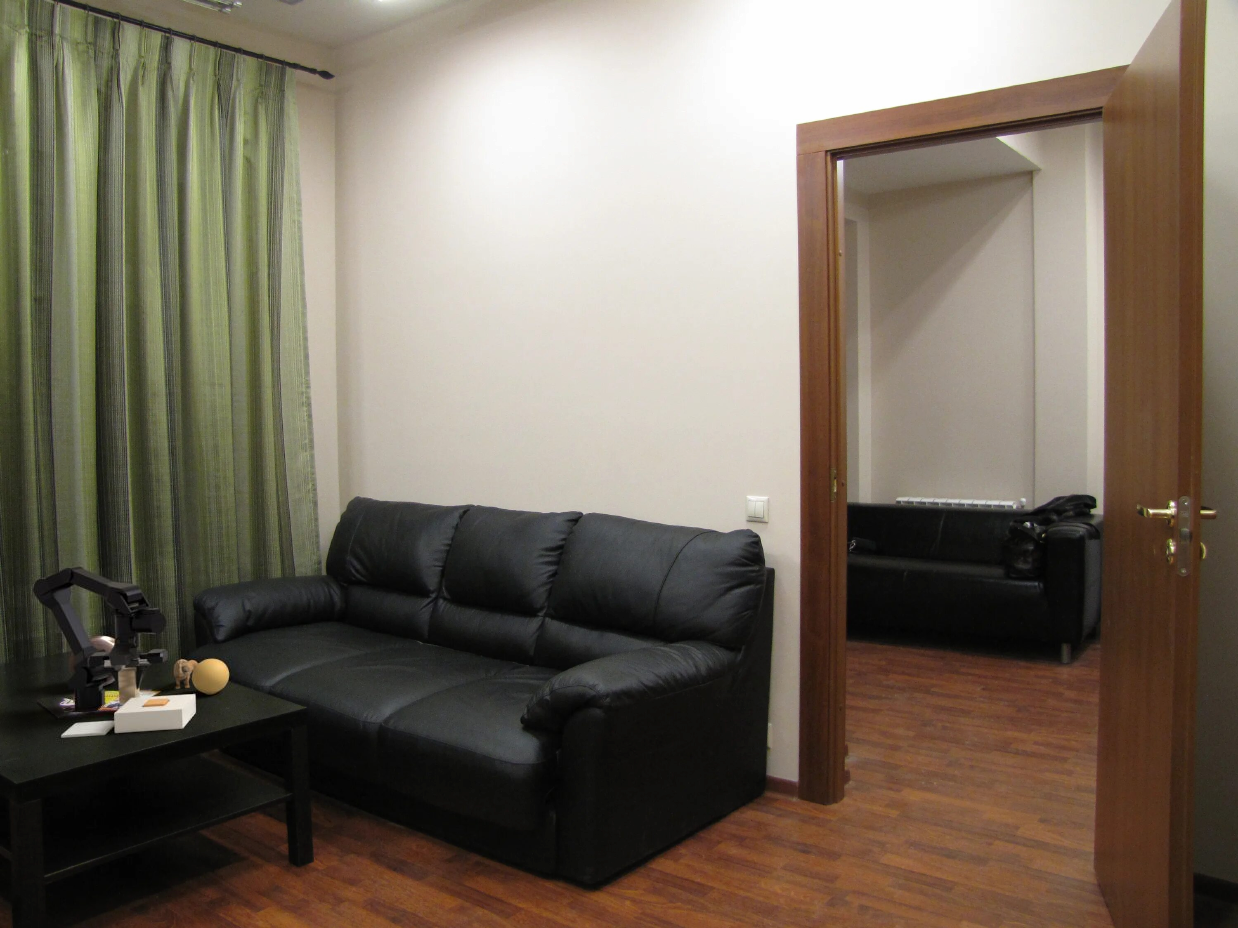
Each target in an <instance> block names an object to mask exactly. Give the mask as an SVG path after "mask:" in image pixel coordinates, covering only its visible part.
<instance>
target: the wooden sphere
mask: <svg viewBox="0 0 1238 928" xmlns="http://www.w3.org/2000/svg"><path fill="white" fill-rule="evenodd" d="M89 639H90V641H91V643H92V645H93V647H94V648H96V649H97V650H101V649H104V650H105V651H106V652H109V653H110V652H111V650H112V648H113V647H114V641H115V638H113V637H111V636H105V635H95V636H91V637H89ZM68 663H69V664H68V665H69V666H68V667H69V671H70V673H71V675H72V676H73V675H74V674H75V671H74V668H73V663H74V654H73V652H72V651H71V654H70V657H69V661H68ZM126 666H127V665H121V668H122V669H123V668H126ZM72 676H71V677H72ZM113 682H115V679H114V677H113V675H112V674H111V672H110V674H109V677H108V680H107V682H106V683H102V684H103V687H105V686H107V685H109V684H112V683H113Z"/></svg>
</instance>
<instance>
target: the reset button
mask: <svg viewBox="0 0 1238 928" xmlns="http://www.w3.org/2000/svg"><path fill="white" fill-rule="evenodd" d="M168 702H169V700H168V698H167V699H150V700H148V701H147V702H146V703H145V704H144V707H154V706H165V705H166V704H167V703H168Z"/></svg>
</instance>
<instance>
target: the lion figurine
mask: <svg viewBox="0 0 1238 928" xmlns="http://www.w3.org/2000/svg"><path fill="white" fill-rule="evenodd" d="M197 664H198V662H197V661H196V660H193V659H191V660H186V659H179V660H177V661H176V662H175V664H174V665H173V671H172V672H173V677H175V682H176V686H175V690H177V689H181V682H180V681H182V680H184V681H183V684H184V688H185V689H188V688H189V689H190V688H191V687H190V683H189V682H190V678H191V673H193V670H194V668H195V667H196V665H197Z"/></svg>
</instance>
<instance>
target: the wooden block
mask: <svg viewBox="0 0 1238 928" xmlns="http://www.w3.org/2000/svg"><path fill="white" fill-rule="evenodd" d="M136 678H137V669H136V666H135V667H125V668H123V669H121V670H120V671H119V672H118V679H119V688H118V702H119V703H118V705H120V706H121V705H122V706H123V705H124V704H125V703H126V702H127V701H128V700H130V699H131V698H139V697H141V695H140V688H139V689H137V688H136Z"/></svg>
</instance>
